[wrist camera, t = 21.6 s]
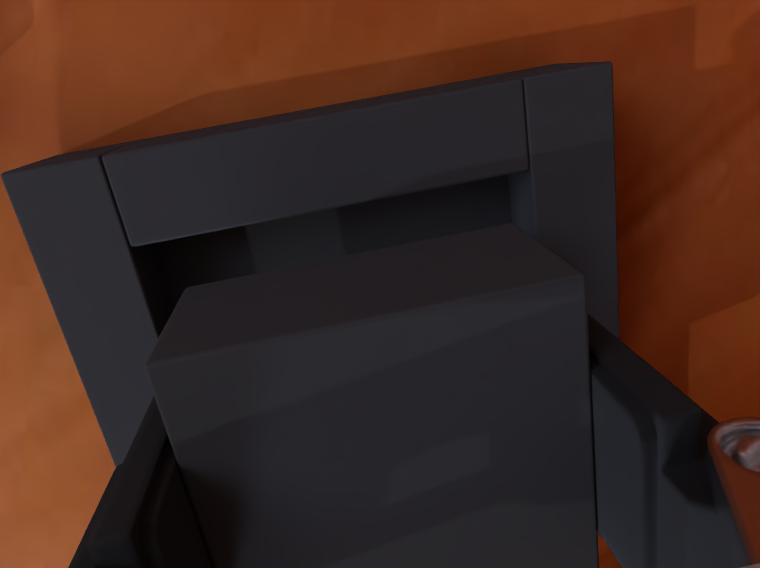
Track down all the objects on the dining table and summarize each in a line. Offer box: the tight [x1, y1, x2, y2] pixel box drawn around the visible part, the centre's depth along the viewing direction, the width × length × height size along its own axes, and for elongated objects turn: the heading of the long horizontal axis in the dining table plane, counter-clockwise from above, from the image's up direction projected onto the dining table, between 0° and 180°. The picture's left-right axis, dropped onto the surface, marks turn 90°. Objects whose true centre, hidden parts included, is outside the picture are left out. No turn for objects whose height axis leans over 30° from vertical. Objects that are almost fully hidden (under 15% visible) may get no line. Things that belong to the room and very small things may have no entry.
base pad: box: [1, 62, 620, 535], centre depth 13 cm, size 11×11×2 cm
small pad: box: [144, 223, 599, 568], centre depth 10 cm, size 6×6×3 cm
